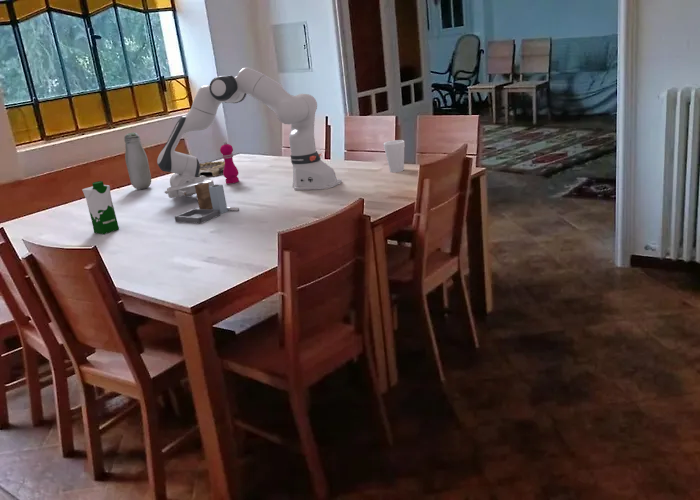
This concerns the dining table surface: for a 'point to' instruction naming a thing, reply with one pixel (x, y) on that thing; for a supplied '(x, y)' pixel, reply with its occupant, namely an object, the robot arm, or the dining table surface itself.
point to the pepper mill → (229, 164)
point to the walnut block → (203, 196)
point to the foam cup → (395, 155)
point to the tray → (197, 215)
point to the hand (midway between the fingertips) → (195, 191)
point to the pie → (212, 167)
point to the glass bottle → (137, 162)
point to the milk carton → (101, 208)
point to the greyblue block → (218, 198)
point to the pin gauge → (232, 209)
